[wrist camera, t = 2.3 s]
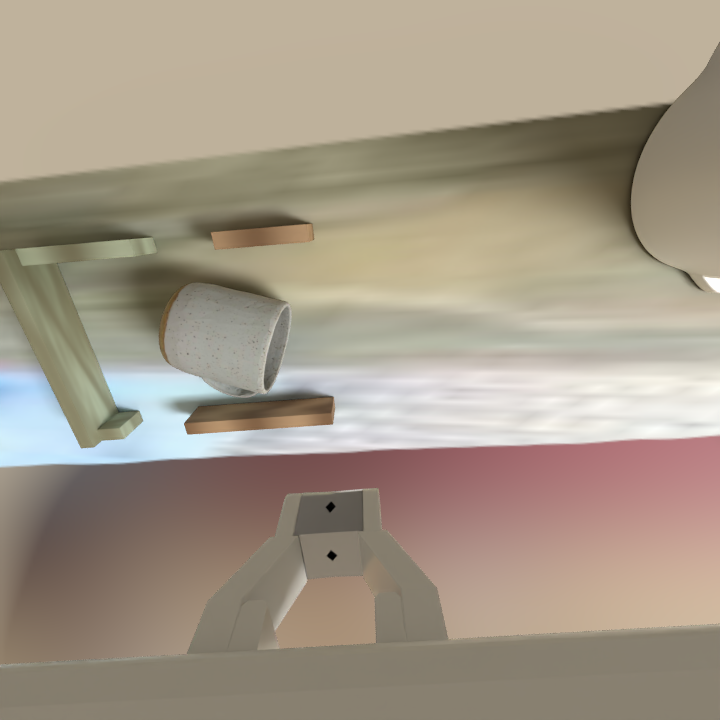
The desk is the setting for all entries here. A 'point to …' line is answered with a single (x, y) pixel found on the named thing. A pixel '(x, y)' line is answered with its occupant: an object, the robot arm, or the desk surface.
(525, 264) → the desk surface
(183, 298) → the ceramic mug
